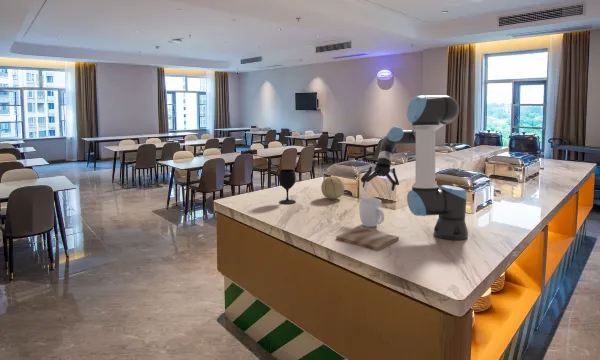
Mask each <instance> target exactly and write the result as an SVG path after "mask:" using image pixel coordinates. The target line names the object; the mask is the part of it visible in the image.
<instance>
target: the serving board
mask: <svg viewBox="0 0 600 360" xmlns="http://www.w3.org/2000/svg"><path fill="white" fill-rule="evenodd" d="M399 237H400V236H398V235H393V234H388V233H385V232H380V231H376V230H372V229H368V228H365V227H355V228H353V229H350V230H348V231H345V232H343V233H341V234H338V235H336V236H335V240H338V241H340V242H345V243H349V244H351V245H355V246H359V247H363V248H367V249H370V250H373V251H380V250H381V249H383V248H385V247H387V246H390V245H392V244H393V243H396V242H398V241H399V240H400V238H399Z"/></svg>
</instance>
